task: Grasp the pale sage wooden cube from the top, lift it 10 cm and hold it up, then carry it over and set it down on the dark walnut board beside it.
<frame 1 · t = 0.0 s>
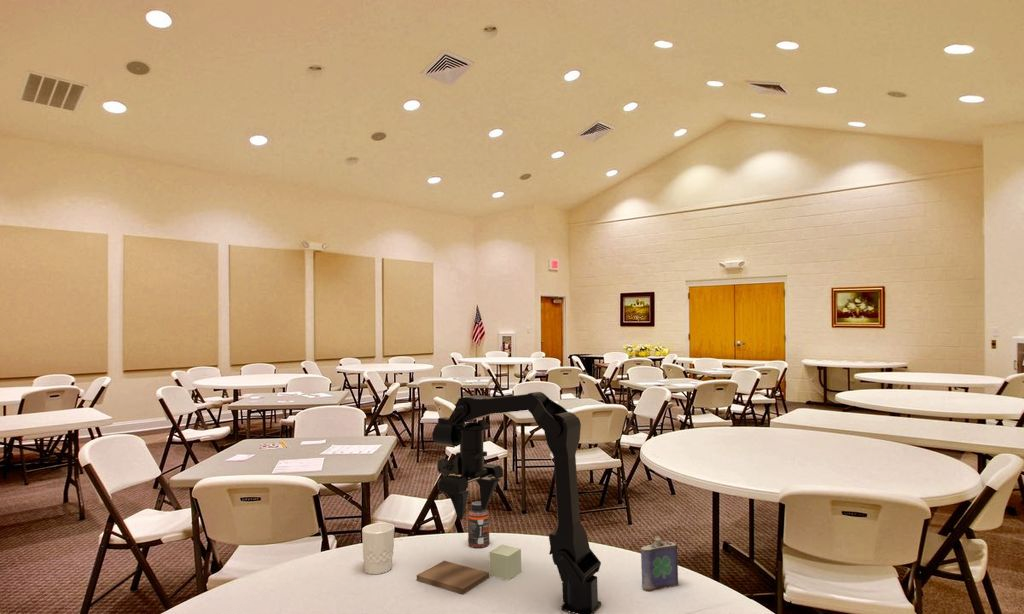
hand: (472, 514, 124), 15 cm above the table, tool pointing down, fingers open, 9 cm apart
flask: (660, 587, 116), on the table
white cup: (378, 569, 129), on the table
sage cube: (505, 573, 125), on the table
walnut board: (453, 579, 122), on the table
supplement bottle: (479, 545, 144), on the table
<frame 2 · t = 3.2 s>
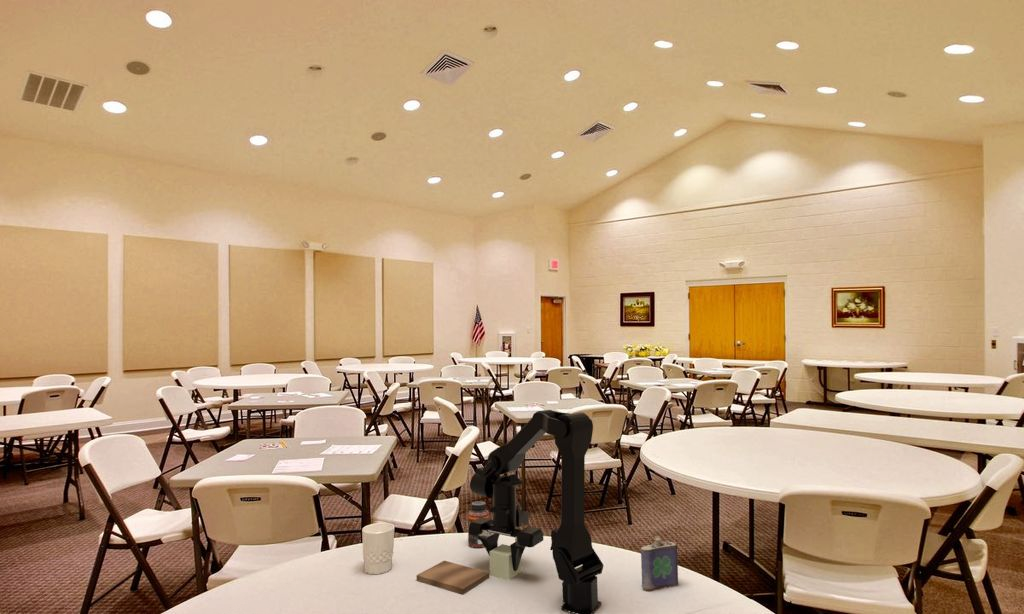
hand: (505, 568, 125), 1 cm above the table, tool pointing down, fingers closed on sage cube, 5 cm apart
sage cube: (505, 573, 125), on the table, touching gripper
everything else where it was.
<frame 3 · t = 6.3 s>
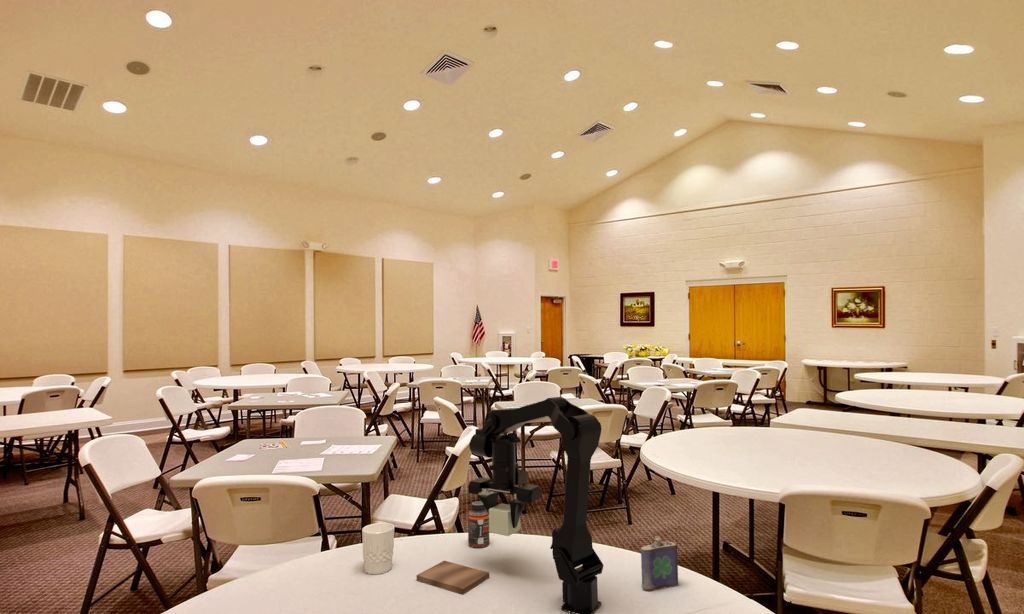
hand: (504, 525, 126), 11 cm above the table, tool pointing down, fingers closed on sage cube, 5 cm apart
sage cube: (504, 531, 126), point 10 cm above the table, touching gripper
everything else where it was.
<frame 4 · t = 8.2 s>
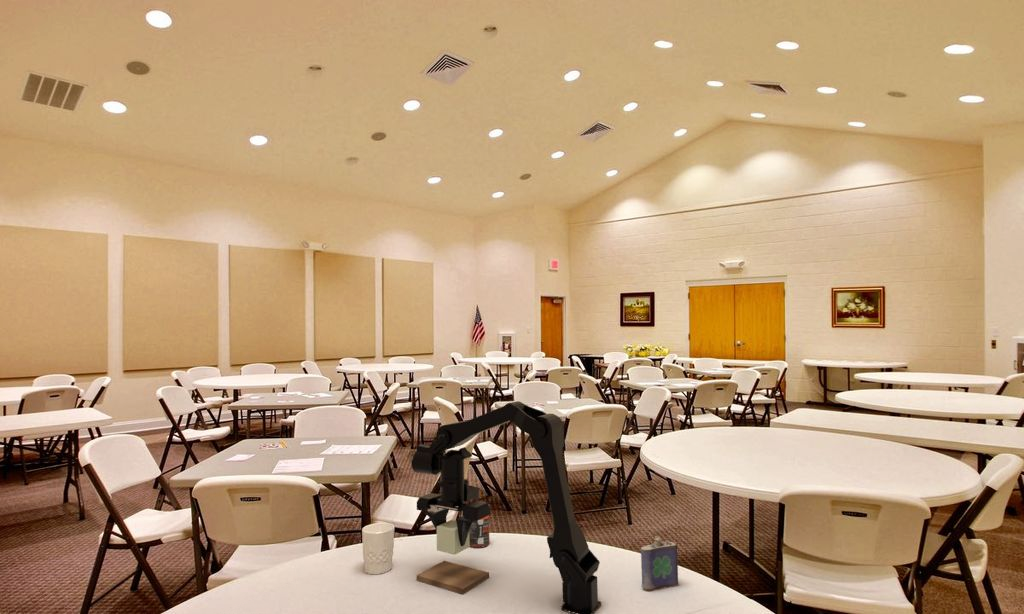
hand: (453, 543, 123), 8 cm above the table, tool pointing down, fingers closed on sage cube, 5 cm apart
sage cube: (453, 548, 123), point 7 cm above the table, touching gripper
everything else where it was.
when the fingers open (4 cm above the table, at t = 9.7 s): sage cube drops 2 cm, resting on walnut board.
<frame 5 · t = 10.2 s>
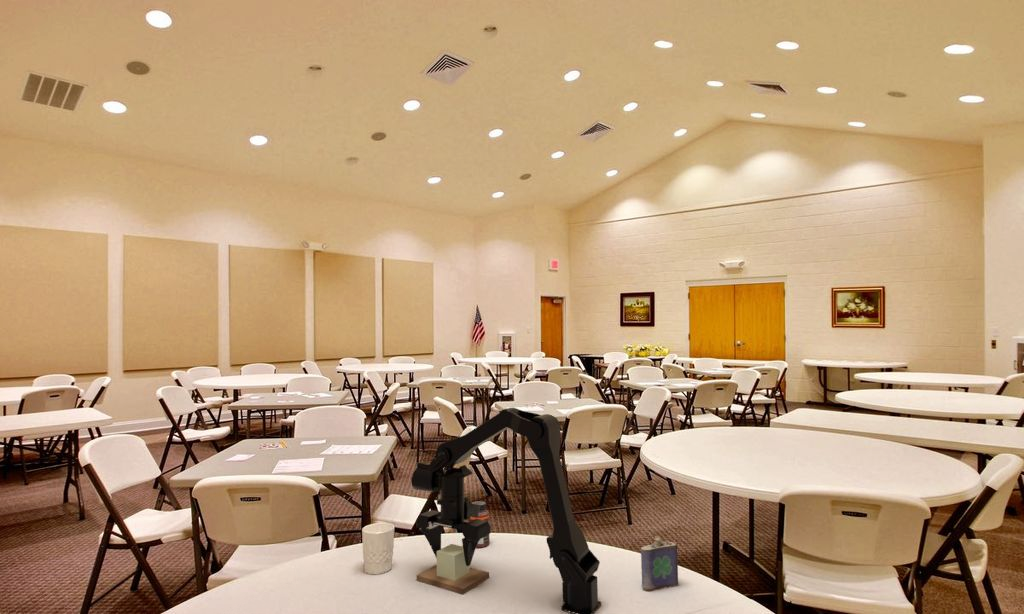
hand: (453, 561, 122), 4 cm above the table, tool pointing down, fingers open, 9 cm apart
sage cube: (453, 573, 122), point 1 cm above the table, touching walnut board
everything else where it was.
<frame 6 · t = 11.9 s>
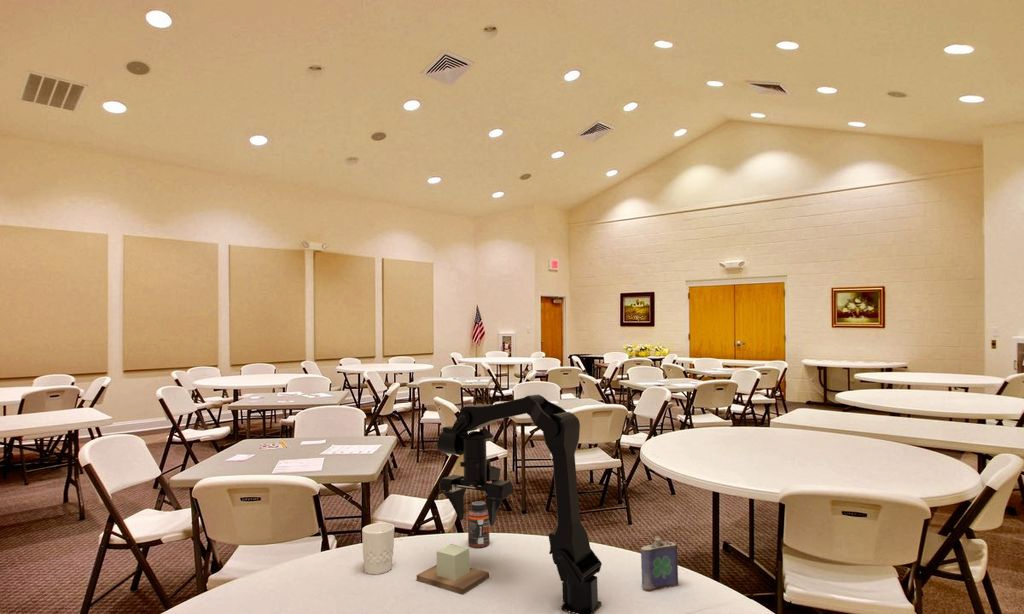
hand: (476, 522, 125), 12 cm above the table, tool pointing down, fingers open, 9 cm apart
nothing on the table moved.
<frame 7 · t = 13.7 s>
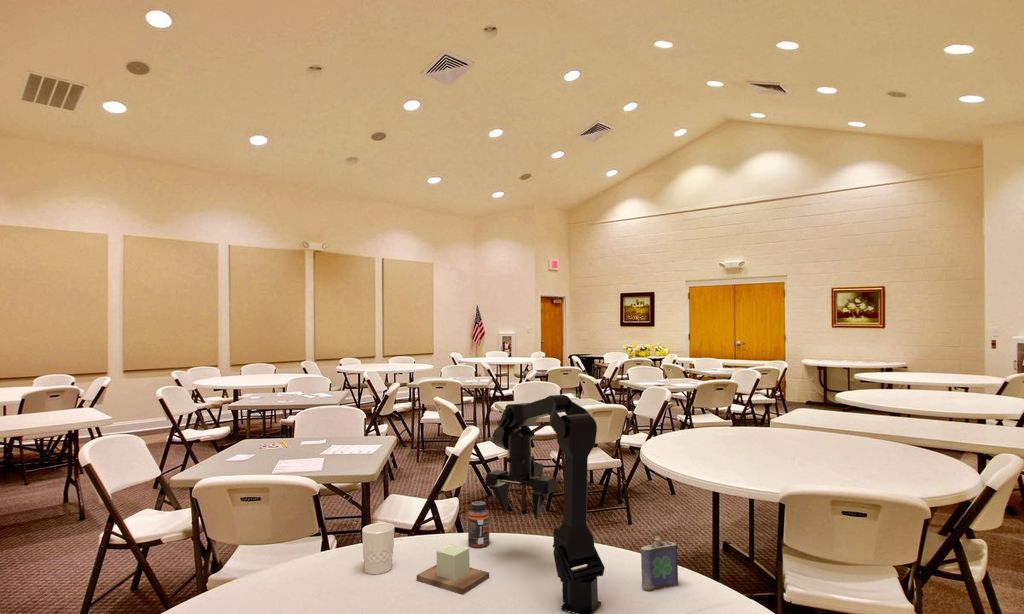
hand: (521, 516, 130), 12 cm above the table, tool pointing down, fingers open, 9 cm apart
nothing on the table moved.
at the end: sage cube inside the target area on the walnut board (0.0 cm from its centre), point 1.2 cm above the walnut board's base; sage cube tilted 0°; the gripper is holding nothing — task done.
